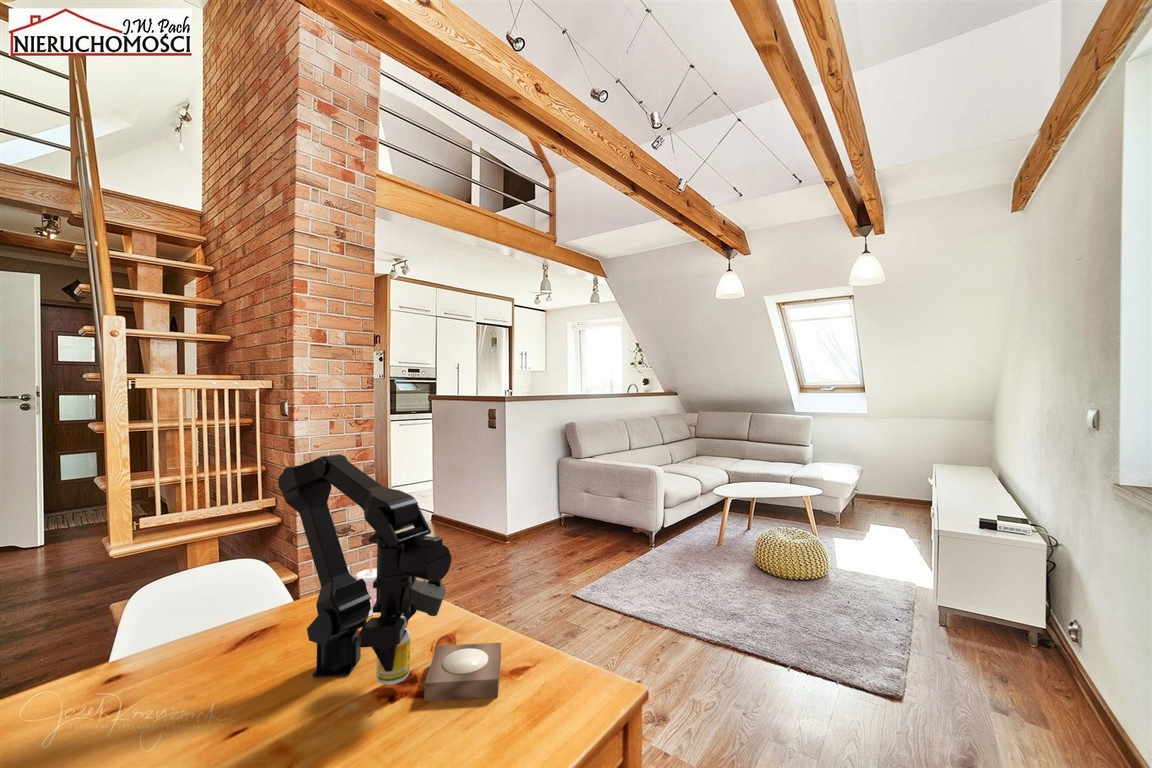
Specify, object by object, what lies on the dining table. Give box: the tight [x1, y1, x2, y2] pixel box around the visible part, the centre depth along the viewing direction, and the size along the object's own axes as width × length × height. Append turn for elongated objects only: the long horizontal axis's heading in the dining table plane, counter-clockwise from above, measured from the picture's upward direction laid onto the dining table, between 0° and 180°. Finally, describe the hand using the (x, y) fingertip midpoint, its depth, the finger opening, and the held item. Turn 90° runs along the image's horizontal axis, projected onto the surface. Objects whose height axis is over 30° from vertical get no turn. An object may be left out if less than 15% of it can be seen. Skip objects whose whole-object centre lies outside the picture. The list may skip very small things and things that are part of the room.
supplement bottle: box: [375, 616, 411, 686], centre depth 84 cm, size 5×5×10 cm
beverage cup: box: [355, 550, 378, 617], centre depth 113 cm, size 6×6×14 cm
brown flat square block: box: [423, 642, 502, 702], centre depth 87 cm, size 12×12×3 cm
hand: (393, 661), depth 84 cm, fingers closed on supplement bottle, 5 cm apart
